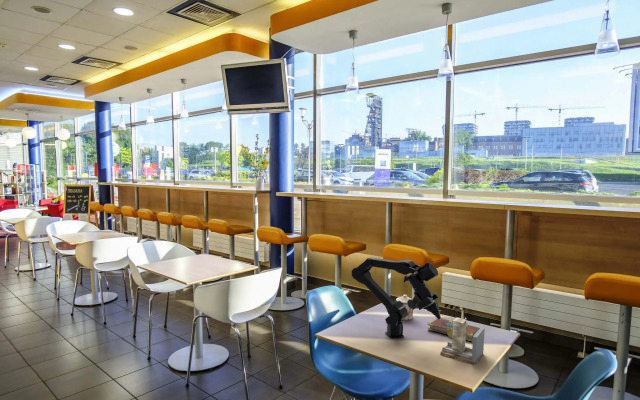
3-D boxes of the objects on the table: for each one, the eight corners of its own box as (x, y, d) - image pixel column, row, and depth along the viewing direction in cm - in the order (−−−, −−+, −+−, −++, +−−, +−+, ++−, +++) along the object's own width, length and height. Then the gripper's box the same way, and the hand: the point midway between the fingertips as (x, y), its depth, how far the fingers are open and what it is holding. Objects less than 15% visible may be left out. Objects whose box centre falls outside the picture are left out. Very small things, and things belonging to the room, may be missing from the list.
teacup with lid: (410, 321, 200) (411, 298, 199) (393, 318, 204) (393, 296, 203) (416, 314, 210) (417, 292, 210) (399, 311, 215) (400, 290, 214)
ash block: (451, 351, 164) (453, 320, 163) (455, 347, 168) (456, 317, 167) (461, 354, 162) (462, 323, 161) (465, 349, 166) (466, 319, 165)
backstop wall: (471, 361, 156) (472, 336, 156) (479, 350, 166) (480, 327, 165) (475, 362, 155) (476, 337, 155) (483, 351, 165) (484, 328, 164)
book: (430, 322, 203) (431, 312, 203) (480, 335, 188) (481, 324, 188) (417, 330, 190) (418, 319, 190) (470, 344, 175) (470, 333, 175)
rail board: (440, 354, 164) (440, 349, 163) (449, 344, 173) (449, 339, 173) (475, 364, 155) (475, 359, 155) (483, 353, 165) (483, 348, 165)
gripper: (409, 292, 185) (428, 323, 180) (398, 298, 168) (419, 332, 164) (429, 280, 181) (449, 311, 177) (420, 285, 165) (442, 319, 160)
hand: (439, 318), depth 169 cm, fingers closed
